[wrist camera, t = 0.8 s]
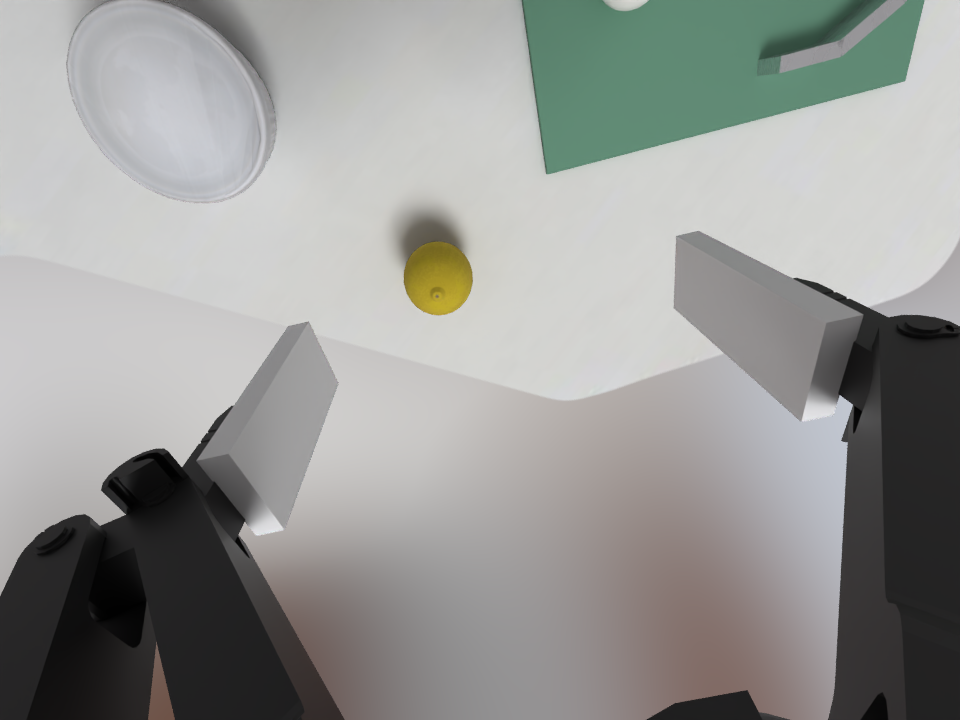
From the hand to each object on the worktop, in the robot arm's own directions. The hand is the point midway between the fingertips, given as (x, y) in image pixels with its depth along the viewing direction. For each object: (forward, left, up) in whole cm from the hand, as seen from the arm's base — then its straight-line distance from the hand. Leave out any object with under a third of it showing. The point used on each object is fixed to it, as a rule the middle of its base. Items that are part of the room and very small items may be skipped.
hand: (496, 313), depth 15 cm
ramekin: (-10, -17, -24) cm, 31 cm away
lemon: (+5, -4, -23) cm, 24 cm away
